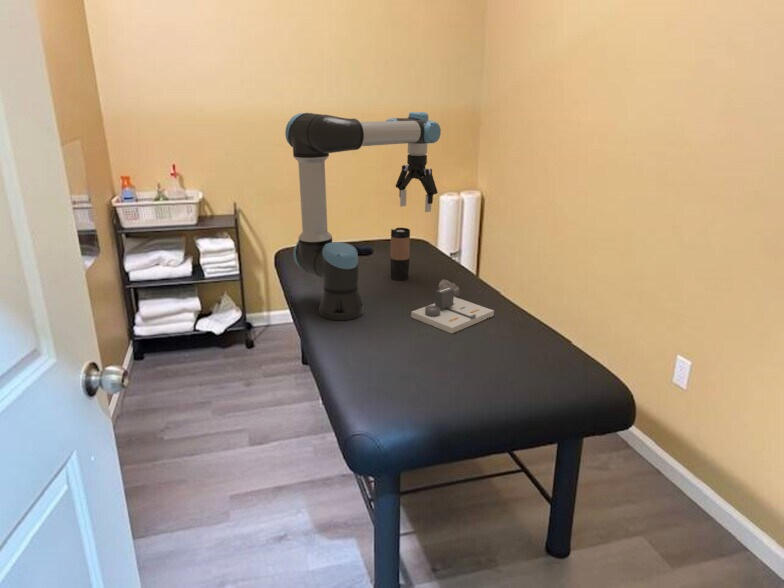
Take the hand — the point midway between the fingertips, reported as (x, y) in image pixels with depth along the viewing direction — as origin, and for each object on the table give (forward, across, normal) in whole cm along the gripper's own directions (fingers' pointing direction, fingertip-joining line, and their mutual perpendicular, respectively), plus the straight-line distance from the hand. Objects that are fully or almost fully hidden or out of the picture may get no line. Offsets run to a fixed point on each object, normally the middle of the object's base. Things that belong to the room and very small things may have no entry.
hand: (415, 208), depth 227 cm
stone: (+28, -26, +9) cm, 39 cm away
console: (+28, -40, +22) cm, 54 cm away
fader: (+25, -36, +23) cm, 49 cm away
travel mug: (+28, +1, +7) cm, 29 cm away
